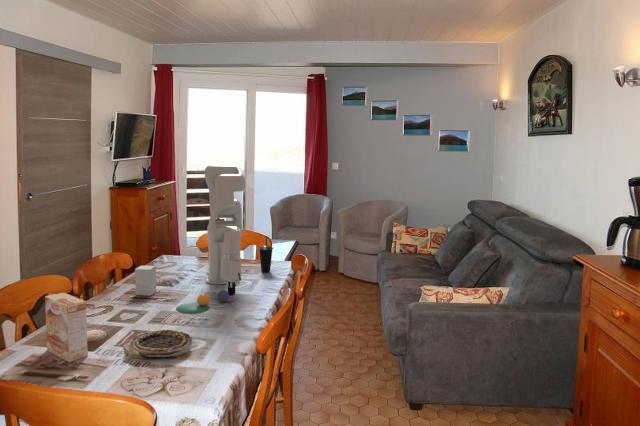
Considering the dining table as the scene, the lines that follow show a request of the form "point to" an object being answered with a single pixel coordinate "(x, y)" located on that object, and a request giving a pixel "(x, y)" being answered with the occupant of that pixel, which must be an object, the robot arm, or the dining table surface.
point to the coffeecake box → (66, 326)
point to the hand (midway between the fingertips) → (231, 294)
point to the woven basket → (158, 345)
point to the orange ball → (203, 299)
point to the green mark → (192, 308)
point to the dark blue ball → (223, 296)
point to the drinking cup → (265, 257)
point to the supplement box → (145, 280)
